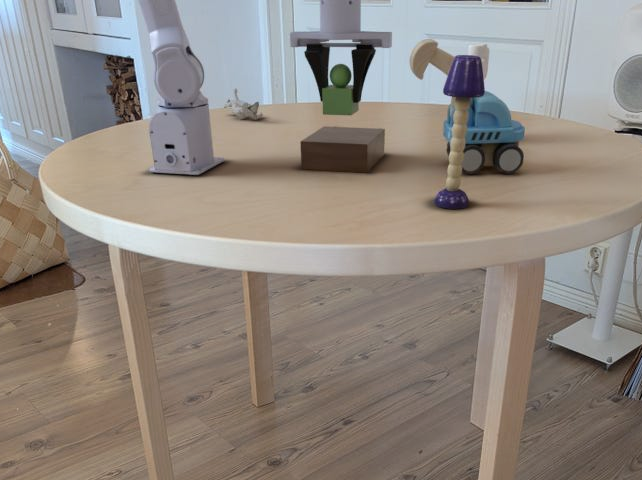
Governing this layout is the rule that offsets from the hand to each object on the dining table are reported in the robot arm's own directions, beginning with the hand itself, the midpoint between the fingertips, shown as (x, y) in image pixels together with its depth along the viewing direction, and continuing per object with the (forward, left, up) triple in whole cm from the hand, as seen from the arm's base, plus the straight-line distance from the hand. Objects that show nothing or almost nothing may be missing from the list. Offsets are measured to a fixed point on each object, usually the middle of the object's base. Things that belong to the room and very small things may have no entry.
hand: (340, 101), depth 98 cm
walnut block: (-1, -1, -9) cm, 9 cm away
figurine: (+21, -18, -9) cm, 29 cm away
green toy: (0, 0, -2) cm, 2 cm away
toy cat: (+31, +29, -9) cm, 44 cm away
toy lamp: (-20, -20, -9) cm, 29 cm away
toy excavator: (-1, -19, -9) cm, 21 cm away
